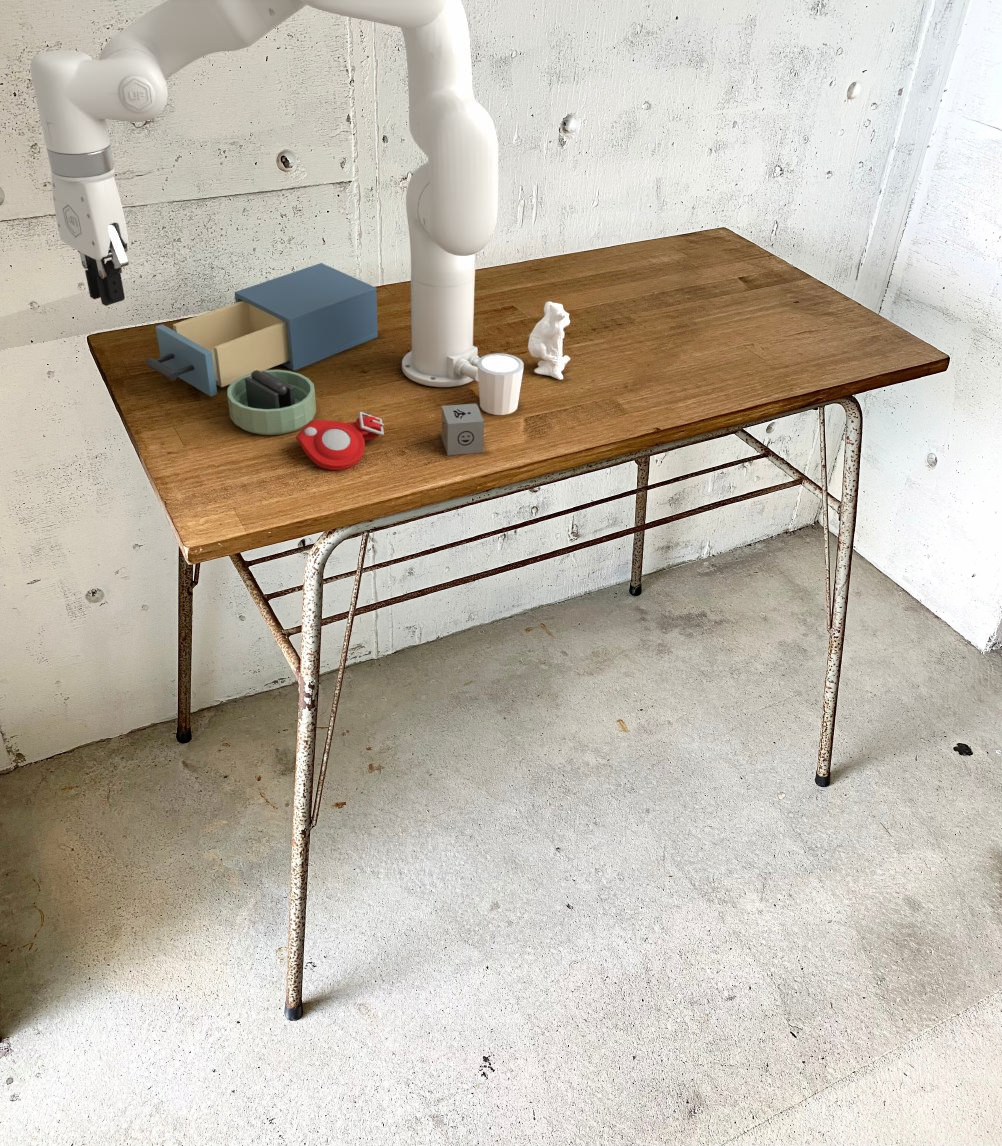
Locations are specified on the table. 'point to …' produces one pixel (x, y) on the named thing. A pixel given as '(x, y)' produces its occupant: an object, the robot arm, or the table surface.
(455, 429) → the dice cube
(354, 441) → the tracker holder
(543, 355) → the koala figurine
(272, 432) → the bowl
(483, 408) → the white faceted cup
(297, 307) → the cabinet
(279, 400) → the grey roller rack
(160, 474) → the table surface
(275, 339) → the drawer
